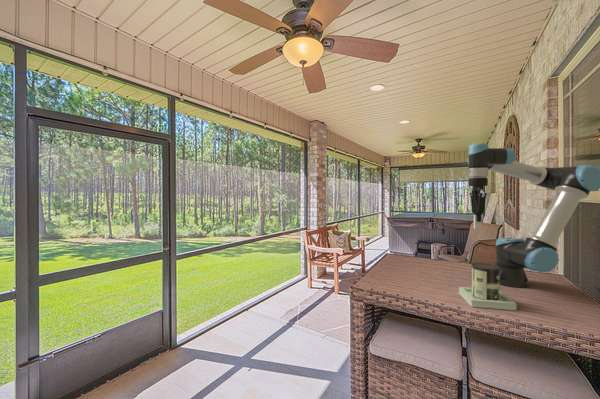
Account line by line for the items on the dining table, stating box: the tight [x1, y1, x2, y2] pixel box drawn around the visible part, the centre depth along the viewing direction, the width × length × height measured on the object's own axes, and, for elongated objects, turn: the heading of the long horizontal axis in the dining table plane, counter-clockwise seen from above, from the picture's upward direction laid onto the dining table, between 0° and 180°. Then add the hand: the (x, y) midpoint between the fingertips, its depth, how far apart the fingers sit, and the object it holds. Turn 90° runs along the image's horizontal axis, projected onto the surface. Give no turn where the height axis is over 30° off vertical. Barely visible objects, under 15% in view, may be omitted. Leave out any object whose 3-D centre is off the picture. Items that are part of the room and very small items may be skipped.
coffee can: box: [471, 262, 501, 301], centre depth 119 cm, size 10×10×14 cm
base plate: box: [458, 286, 517, 311], centre depth 119 cm, size 16×16×3 cm
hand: (477, 228), depth 127 cm, fingers closed
